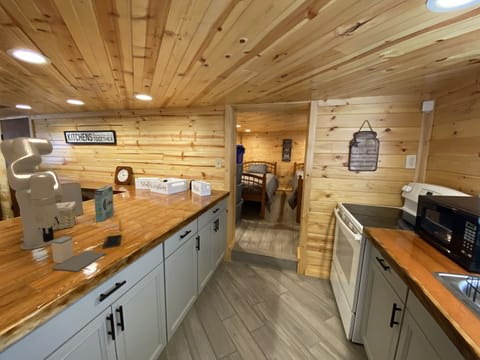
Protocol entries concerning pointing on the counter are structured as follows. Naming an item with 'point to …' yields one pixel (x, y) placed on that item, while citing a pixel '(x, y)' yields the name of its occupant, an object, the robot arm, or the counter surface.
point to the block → (62, 249)
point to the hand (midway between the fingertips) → (48, 240)
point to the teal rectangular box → (103, 203)
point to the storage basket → (66, 214)
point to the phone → (112, 241)
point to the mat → (79, 261)
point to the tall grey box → (73, 196)
